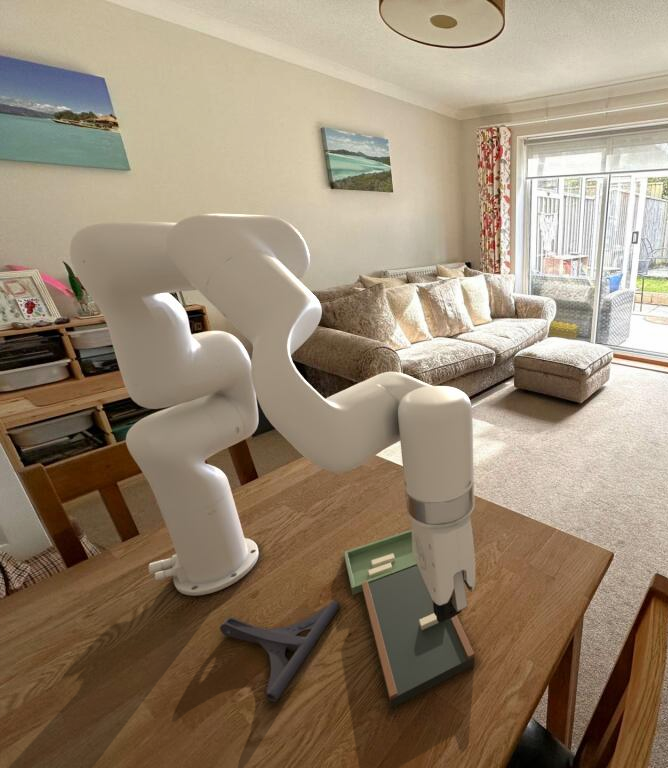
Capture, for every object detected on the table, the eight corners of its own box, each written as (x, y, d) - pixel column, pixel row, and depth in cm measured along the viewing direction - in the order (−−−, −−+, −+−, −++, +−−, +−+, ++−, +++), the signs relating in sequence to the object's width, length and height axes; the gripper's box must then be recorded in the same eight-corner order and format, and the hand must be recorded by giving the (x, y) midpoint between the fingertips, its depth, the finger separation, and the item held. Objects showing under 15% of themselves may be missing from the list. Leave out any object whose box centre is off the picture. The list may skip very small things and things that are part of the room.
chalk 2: (367, 570, 72) (368, 574, 72) (369, 575, 71) (369, 579, 71) (390, 562, 74) (391, 566, 74) (392, 566, 73) (392, 570, 73)
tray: (352, 595, 69) (351, 588, 68) (344, 558, 76) (343, 551, 76) (437, 562, 76) (437, 556, 75) (422, 531, 83) (422, 525, 83)
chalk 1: (371, 560, 74) (371, 564, 74) (372, 564, 73) (372, 569, 73) (393, 553, 76) (393, 557, 76) (394, 557, 75) (395, 561, 75)
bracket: (260, 592, 69) (257, 580, 68) (340, 608, 66) (338, 596, 65) (182, 680, 56) (176, 667, 55) (278, 703, 53) (273, 690, 52)
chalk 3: (421, 630, 61) (421, 626, 61) (419, 624, 62) (418, 619, 62) (446, 619, 63) (446, 614, 63) (443, 613, 64) (443, 608, 64)
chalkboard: (391, 708, 53) (389, 697, 52) (363, 593, 69) (361, 583, 68) (474, 665, 58) (474, 653, 58) (430, 567, 75) (429, 557, 74)
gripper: (390, 470, 49) (403, 582, 56) (430, 551, 37) (440, 681, 44) (448, 455, 53) (453, 562, 60) (501, 525, 41) (500, 649, 48)
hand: (447, 612), depth 52 cm, fingers closed
